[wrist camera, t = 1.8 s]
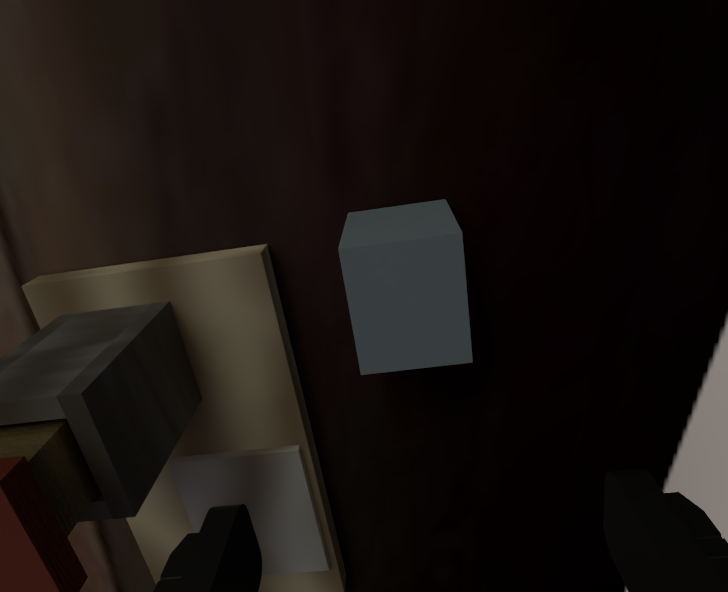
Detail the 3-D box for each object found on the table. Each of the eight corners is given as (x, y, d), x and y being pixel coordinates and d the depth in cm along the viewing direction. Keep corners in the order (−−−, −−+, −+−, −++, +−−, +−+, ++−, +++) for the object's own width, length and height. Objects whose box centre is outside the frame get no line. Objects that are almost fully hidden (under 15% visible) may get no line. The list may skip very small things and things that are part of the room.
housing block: (445, 199, 26) (462, 232, 20) (455, 306, 28) (472, 362, 22) (348, 212, 26) (338, 249, 21) (365, 317, 28) (361, 375, 23)
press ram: (115, 360, 22) (-2, 483, 15) (155, 462, 24) (69, 608, 17) (-5, 374, 22) (-168, 499, 16) (46, 473, 25) (-79, 619, 18)
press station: (267, 243, 27) (205, 331, 18) (346, 574, 37) (333, 741, 27) (39, 276, 28) (-129, 372, 19) (174, 587, 38) (106, 751, 29)
